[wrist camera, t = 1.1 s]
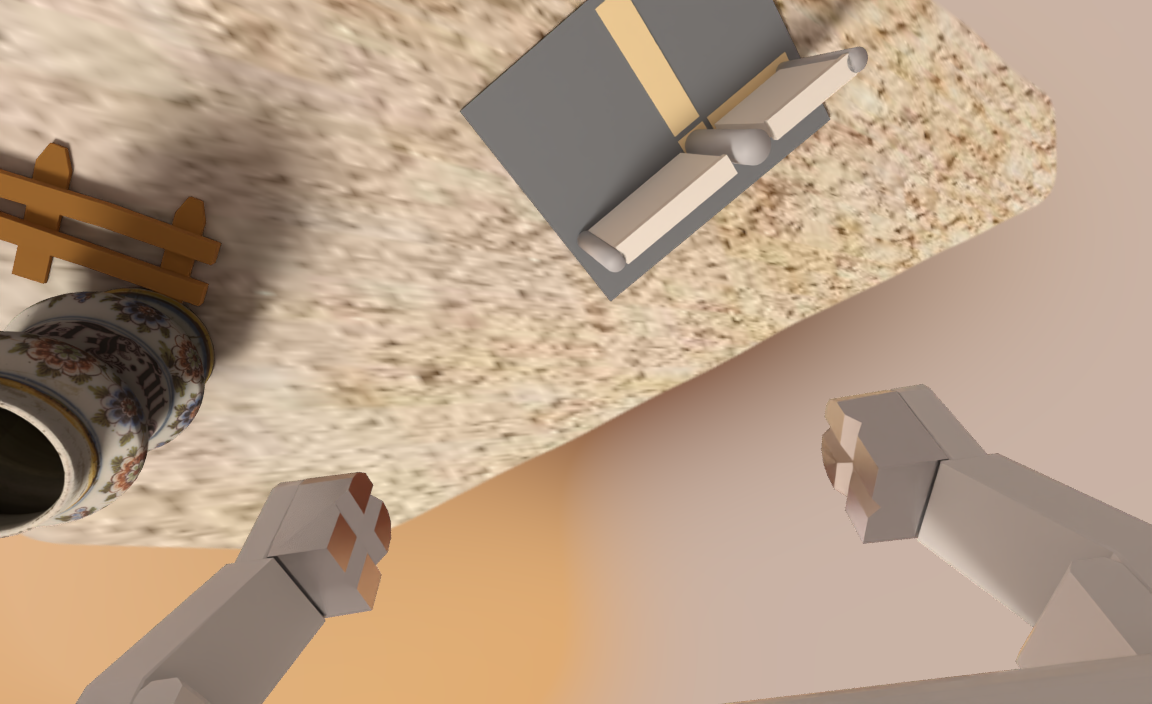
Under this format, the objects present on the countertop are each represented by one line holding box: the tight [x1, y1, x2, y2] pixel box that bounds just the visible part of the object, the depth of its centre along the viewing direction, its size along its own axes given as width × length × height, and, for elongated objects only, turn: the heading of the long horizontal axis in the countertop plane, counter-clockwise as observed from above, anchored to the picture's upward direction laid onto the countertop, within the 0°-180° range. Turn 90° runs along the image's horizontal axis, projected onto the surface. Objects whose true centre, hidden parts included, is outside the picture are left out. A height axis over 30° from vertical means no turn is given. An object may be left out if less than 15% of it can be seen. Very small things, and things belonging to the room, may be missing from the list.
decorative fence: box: [0, 143, 221, 306], centre depth 39 cm, size 25×2×10 cm
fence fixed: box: [685, 47, 868, 166], centre depth 44 cm, size 2×11×10 cm, turn 128°
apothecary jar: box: [0, 288, 214, 538], centre depth 36 cm, size 12×12×18 cm
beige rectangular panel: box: [577, 153, 738, 272], centre depth 44 cm, size 2×11×9 cm, turn 128°
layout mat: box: [460, 0, 830, 301], centre depth 47 cm, size 20×25×1 cm
